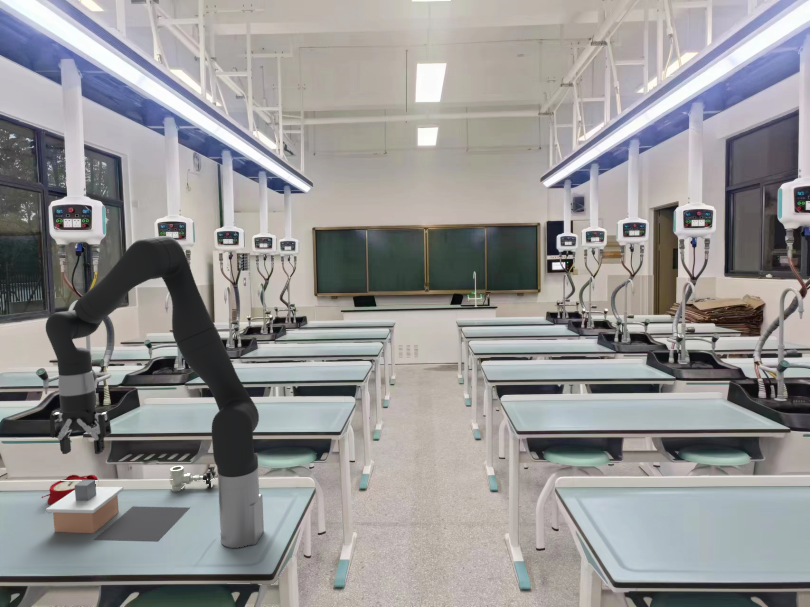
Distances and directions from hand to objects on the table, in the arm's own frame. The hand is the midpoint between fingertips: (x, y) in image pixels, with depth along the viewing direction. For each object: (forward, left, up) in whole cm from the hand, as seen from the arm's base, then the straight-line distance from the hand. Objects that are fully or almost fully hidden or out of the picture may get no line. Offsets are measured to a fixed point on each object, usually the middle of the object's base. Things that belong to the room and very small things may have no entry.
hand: (82, 453), depth 129 cm
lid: (0, 0, -13) cm, 13 cm away
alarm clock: (+15, -15, -19) cm, 28 cm away
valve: (-18, -19, -19) cm, 32 cm away
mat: (-15, 0, -19) cm, 24 cm away
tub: (0, 0, -19) cm, 19 cm away
